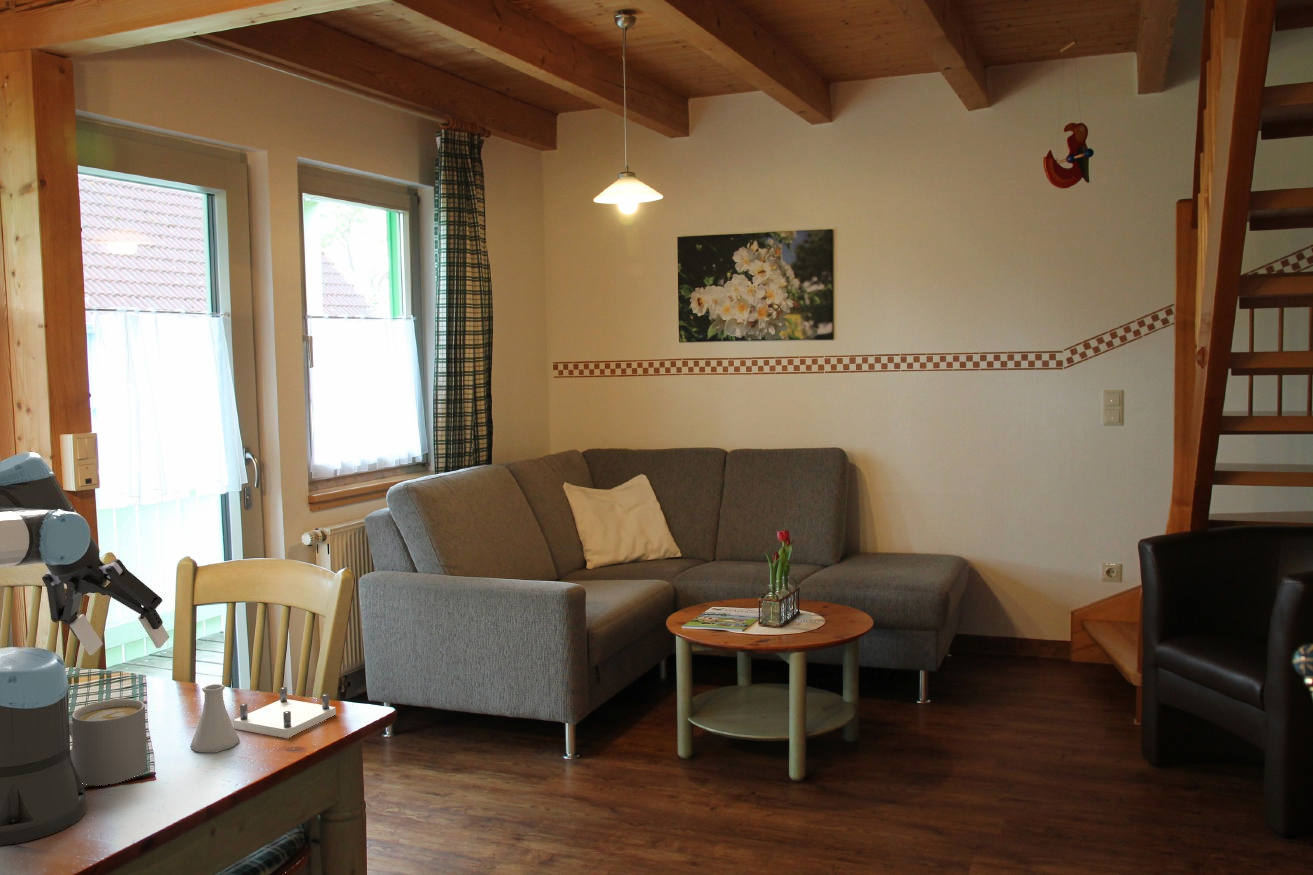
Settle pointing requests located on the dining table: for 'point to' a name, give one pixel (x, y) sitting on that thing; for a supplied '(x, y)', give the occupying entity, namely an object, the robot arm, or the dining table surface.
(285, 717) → the pegs
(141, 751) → the coffee mug
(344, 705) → the dining table surface
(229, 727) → the flask
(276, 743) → the dining table surface
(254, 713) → the plate
